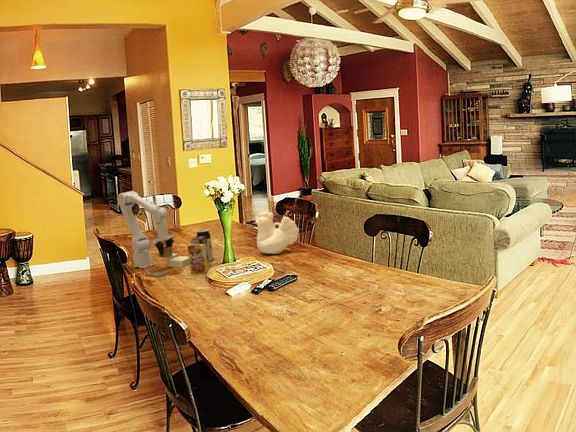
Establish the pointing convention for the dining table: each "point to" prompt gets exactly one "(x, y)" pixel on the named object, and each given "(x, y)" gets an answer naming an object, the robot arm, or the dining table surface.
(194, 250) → the candy box
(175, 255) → the sage block
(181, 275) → the dining table surface
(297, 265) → the dining table surface
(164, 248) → the walnut block
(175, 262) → the base block
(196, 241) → the coffee box
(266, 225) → the decorative rooster
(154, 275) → the card
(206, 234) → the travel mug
